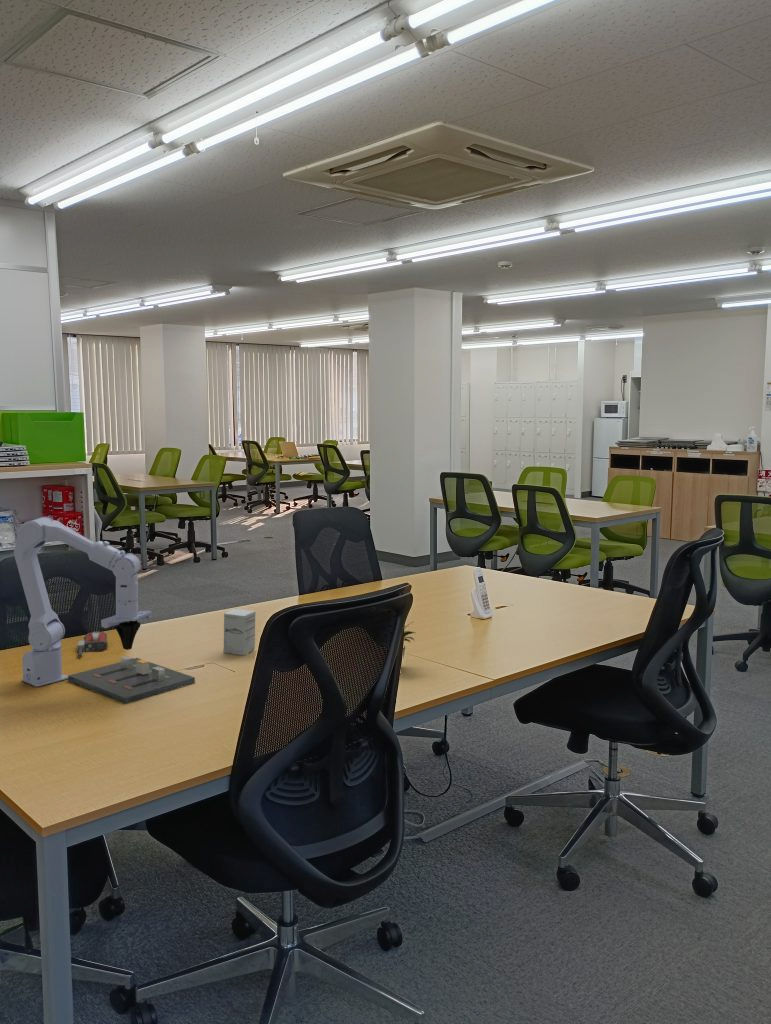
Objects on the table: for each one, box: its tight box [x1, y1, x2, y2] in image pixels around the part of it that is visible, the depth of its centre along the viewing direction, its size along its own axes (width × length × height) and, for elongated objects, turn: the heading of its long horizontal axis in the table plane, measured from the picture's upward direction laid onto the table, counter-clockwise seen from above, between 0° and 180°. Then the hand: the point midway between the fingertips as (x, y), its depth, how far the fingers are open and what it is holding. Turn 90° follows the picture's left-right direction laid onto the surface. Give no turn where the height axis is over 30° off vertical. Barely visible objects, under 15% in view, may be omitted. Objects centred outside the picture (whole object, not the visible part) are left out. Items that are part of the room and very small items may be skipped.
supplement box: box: [223, 608, 257, 656], centre depth 256 cm, size 7×7×13 cm
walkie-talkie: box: [76, 631, 108, 658], centre depth 254 cm, size 9×4×20 cm
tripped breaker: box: [136, 658, 150, 675], centre depth 228 cm, size 2×3×3 cm, turn 52°
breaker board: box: [67, 655, 196, 705], centre depth 225 cm, size 22×26×4 cm
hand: (127, 648), depth 224 cm, fingers closed
